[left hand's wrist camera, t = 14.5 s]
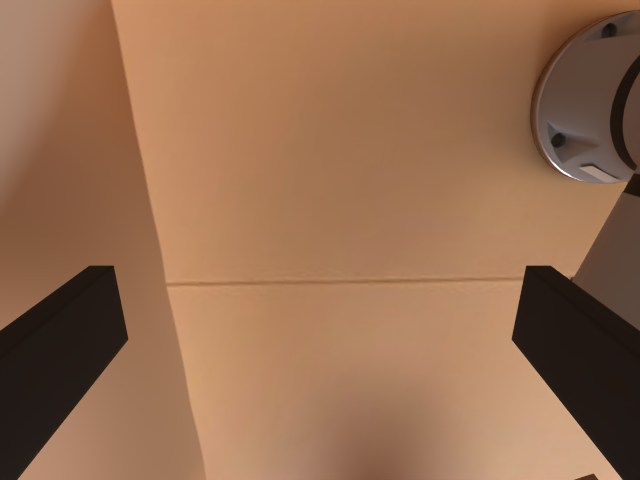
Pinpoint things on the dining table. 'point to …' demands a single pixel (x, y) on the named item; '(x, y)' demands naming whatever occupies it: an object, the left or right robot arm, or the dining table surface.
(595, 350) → the left robot arm
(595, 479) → the bar
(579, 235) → the dining table surface
